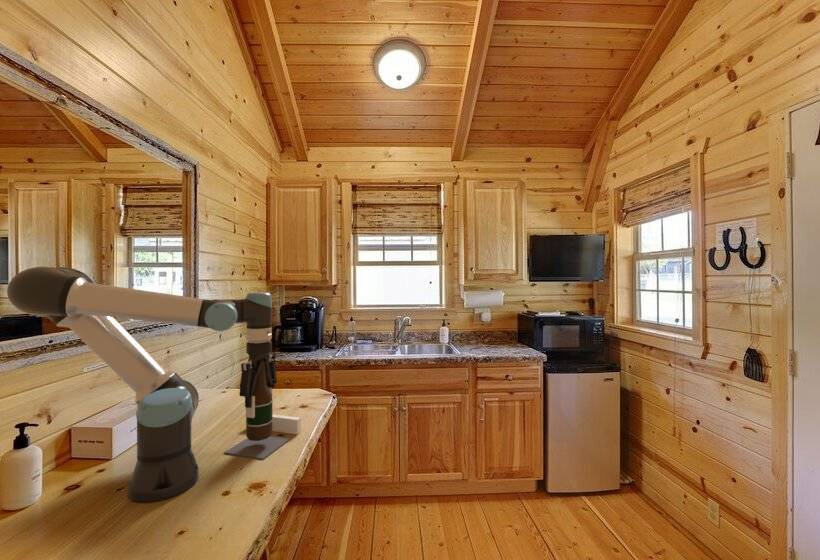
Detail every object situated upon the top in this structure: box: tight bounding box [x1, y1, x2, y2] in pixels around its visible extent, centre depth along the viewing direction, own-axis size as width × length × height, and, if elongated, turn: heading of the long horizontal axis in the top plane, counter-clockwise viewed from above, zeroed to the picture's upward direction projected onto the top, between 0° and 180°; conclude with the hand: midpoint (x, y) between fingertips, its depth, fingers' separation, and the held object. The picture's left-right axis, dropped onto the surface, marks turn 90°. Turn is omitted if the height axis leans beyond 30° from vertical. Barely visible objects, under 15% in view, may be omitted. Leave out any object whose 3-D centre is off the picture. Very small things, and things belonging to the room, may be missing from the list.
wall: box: [272, 413, 302, 435], centre depth 127 cm, size 2×20×5 cm, turn 75°
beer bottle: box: [245, 361, 273, 441], centre depth 115 cm, size 8×8×24 cm
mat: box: [223, 435, 292, 461], centre depth 115 cm, size 14×14×1 cm
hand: (259, 412), depth 115 cm, fingers closed on beer bottle, 8 cm apart
